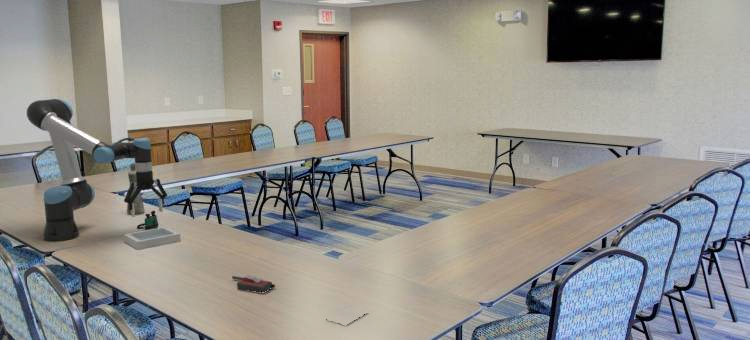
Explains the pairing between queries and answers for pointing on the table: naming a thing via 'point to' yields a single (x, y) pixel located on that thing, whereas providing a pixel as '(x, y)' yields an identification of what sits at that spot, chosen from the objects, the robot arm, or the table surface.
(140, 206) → the bottle
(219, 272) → the table surface
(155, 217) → the binoculars
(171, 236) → the case
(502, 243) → the table surface
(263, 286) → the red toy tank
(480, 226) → the table surface
